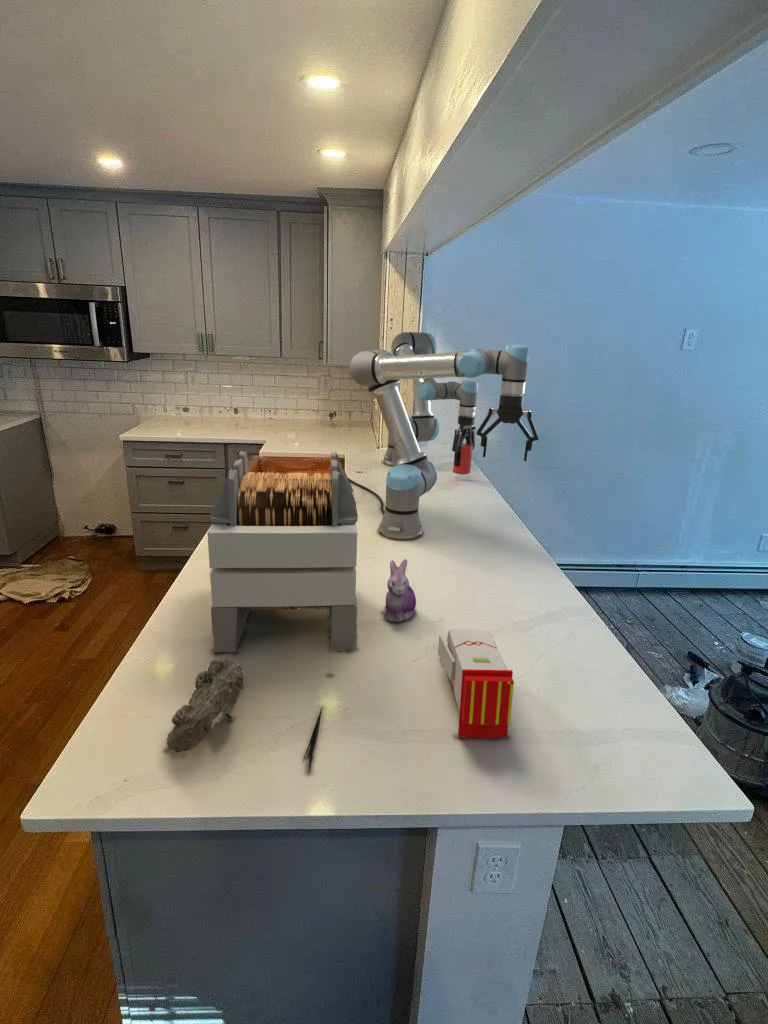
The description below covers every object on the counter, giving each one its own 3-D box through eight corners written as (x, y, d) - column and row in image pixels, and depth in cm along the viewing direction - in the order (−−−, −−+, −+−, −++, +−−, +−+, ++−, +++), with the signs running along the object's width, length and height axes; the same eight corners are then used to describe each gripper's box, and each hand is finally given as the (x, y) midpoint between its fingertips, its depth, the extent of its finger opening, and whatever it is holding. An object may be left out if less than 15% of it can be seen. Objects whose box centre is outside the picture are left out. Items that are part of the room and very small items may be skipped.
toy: (488, 613, 130) (523, 677, 101) (484, 667, 133) (517, 744, 104) (435, 612, 130) (455, 676, 101) (432, 666, 133) (451, 743, 103)
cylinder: (471, 474, 262) (474, 447, 258) (454, 474, 262) (457, 447, 257) (468, 470, 270) (470, 443, 265) (451, 469, 269) (454, 443, 265)
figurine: (392, 627, 141) (395, 572, 136) (374, 608, 149) (376, 556, 144) (425, 619, 145) (429, 566, 140) (405, 601, 154) (408, 550, 149)
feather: (331, 679, 122) (336, 673, 122) (307, 777, 96) (313, 769, 95) (324, 675, 122) (329, 669, 121) (298, 772, 95) (304, 764, 95)
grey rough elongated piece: (192, 660, 117) (244, 628, 112) (224, 691, 120) (276, 661, 115) (142, 746, 98) (202, 712, 93) (182, 779, 101) (242, 748, 96)
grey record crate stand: (232, 584, 158) (225, 442, 144) (349, 583, 162) (353, 444, 148) (211, 655, 127) (198, 480, 113) (357, 651, 130) (362, 482, 117)
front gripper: (551, 395, 185) (542, 459, 192) (474, 390, 190) (468, 452, 197) (552, 399, 178) (542, 464, 185) (472, 393, 183) (466, 457, 190)
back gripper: (460, 419, 247) (455, 469, 255) (486, 414, 262) (481, 462, 270) (446, 416, 252) (442, 466, 259) (472, 412, 266) (467, 458, 274)
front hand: (504, 458), depth 191 cm, fingers open, 13 cm apart
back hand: (462, 464), depth 265 cm, fingers closed on cylinder, 8 cm apart
